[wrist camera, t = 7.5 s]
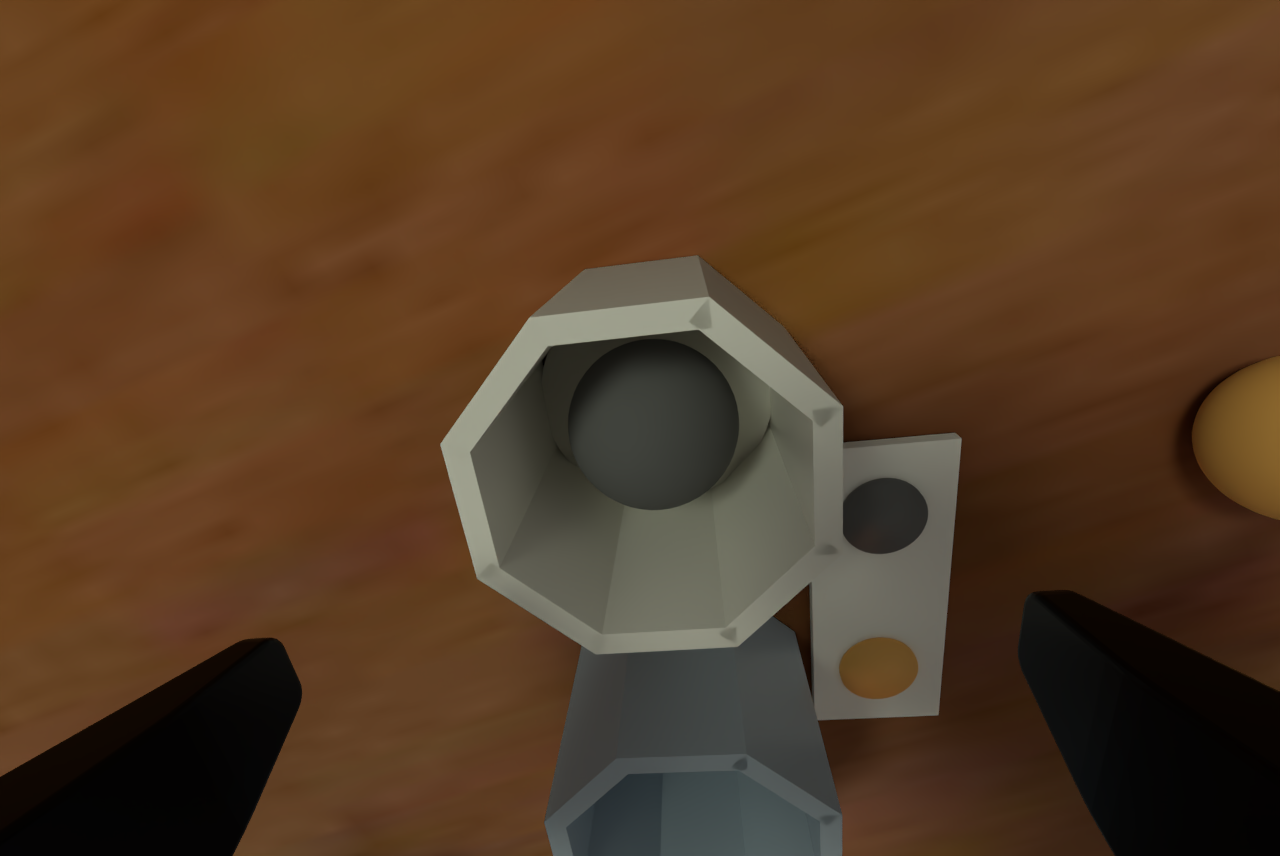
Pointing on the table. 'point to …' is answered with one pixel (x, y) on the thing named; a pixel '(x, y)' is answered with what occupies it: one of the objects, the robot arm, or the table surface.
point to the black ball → (653, 424)
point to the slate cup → (694, 755)
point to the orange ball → (1243, 437)
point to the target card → (887, 581)
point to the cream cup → (635, 538)
